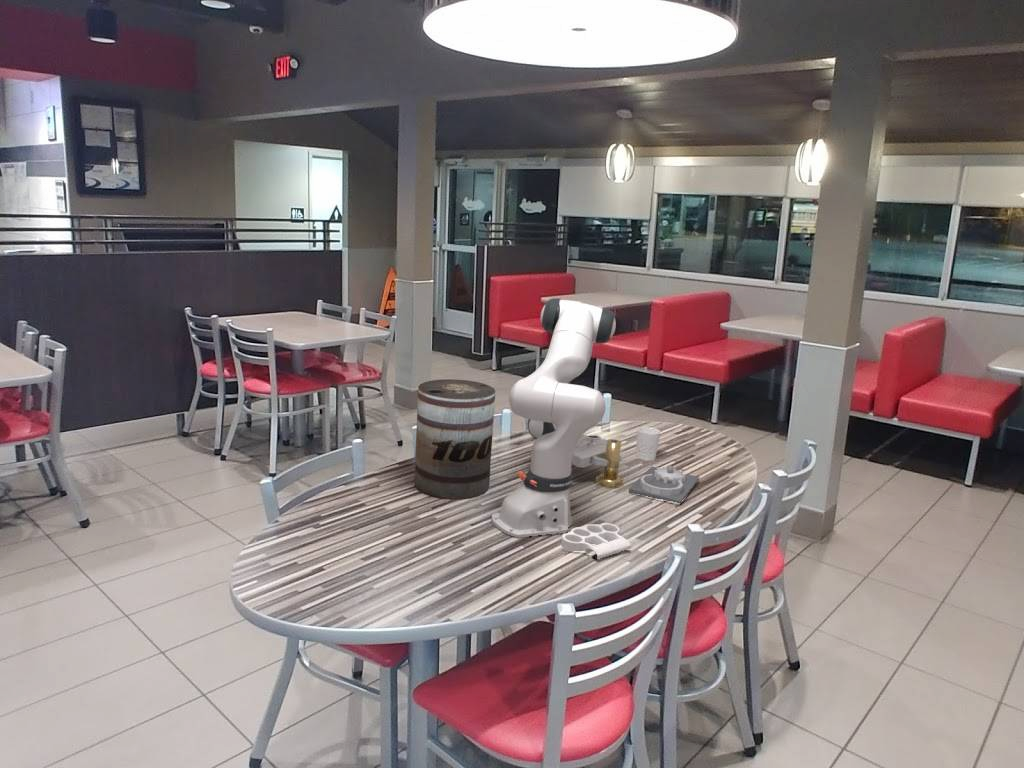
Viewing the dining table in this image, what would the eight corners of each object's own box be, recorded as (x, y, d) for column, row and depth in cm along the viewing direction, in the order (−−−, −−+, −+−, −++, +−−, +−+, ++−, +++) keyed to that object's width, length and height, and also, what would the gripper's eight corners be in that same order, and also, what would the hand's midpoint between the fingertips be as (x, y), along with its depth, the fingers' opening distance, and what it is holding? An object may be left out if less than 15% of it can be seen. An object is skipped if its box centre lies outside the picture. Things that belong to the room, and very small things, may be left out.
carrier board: (679, 505, 225) (682, 488, 223) (628, 493, 231) (630, 476, 230) (698, 481, 246) (700, 465, 244) (651, 470, 252) (653, 455, 251)
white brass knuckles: (587, 566, 184) (549, 542, 196) (639, 550, 195) (600, 528, 206) (588, 554, 184) (550, 530, 195) (640, 538, 194) (601, 517, 206)
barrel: (465, 506, 213) (471, 404, 206) (399, 487, 223) (402, 389, 215) (502, 482, 233) (508, 388, 225) (440, 466, 242) (444, 375, 235)
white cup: (631, 458, 263) (634, 430, 261) (638, 452, 270) (641, 425, 268) (653, 463, 260) (656, 435, 257) (659, 457, 267) (663, 430, 264)
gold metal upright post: (607, 490, 232) (611, 446, 229) (590, 480, 239) (594, 438, 236) (628, 486, 237) (633, 443, 233) (611, 477, 244) (616, 435, 240)
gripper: (559, 445, 237) (594, 458, 228) (600, 434, 251) (634, 445, 242) (558, 464, 238) (592, 477, 229) (598, 452, 253) (632, 464, 243)
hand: (614, 461), depth 236 cm, fingers open, 5 cm apart
